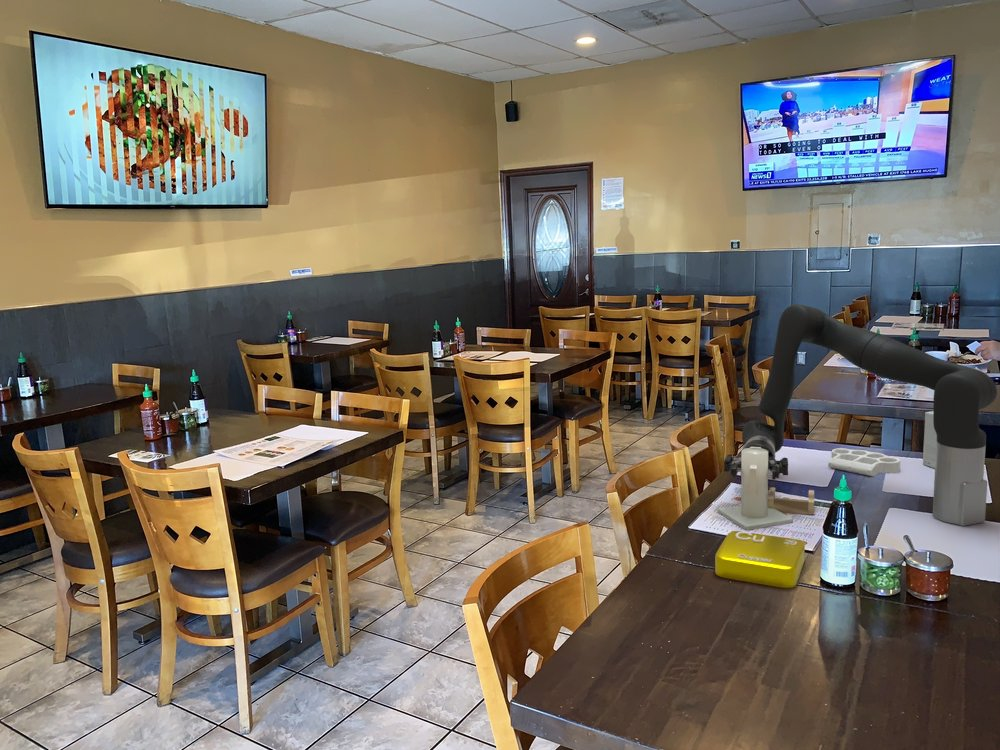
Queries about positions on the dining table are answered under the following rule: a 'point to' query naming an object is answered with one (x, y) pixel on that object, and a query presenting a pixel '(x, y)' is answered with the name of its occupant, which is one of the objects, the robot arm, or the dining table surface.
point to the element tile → (760, 559)
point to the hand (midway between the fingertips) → (754, 474)
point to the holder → (791, 503)
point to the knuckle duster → (863, 462)
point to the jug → (754, 482)
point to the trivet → (752, 523)
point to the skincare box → (929, 441)
